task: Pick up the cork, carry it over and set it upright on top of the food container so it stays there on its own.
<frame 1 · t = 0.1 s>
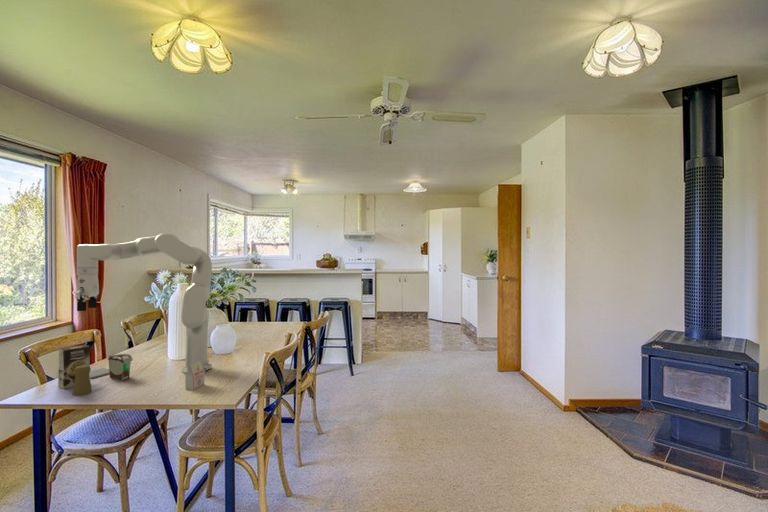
hand: (87, 309, 164), 31 cm above the table, tool pointing down, fingers open, 9 cm apart
slate coaster: (97, 374, 170), on the table
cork: (82, 393, 147), on the table
coffee box: (74, 384, 157), on the table
red printed box: (195, 387, 155), on the table
food container: (123, 378, 165), on the table
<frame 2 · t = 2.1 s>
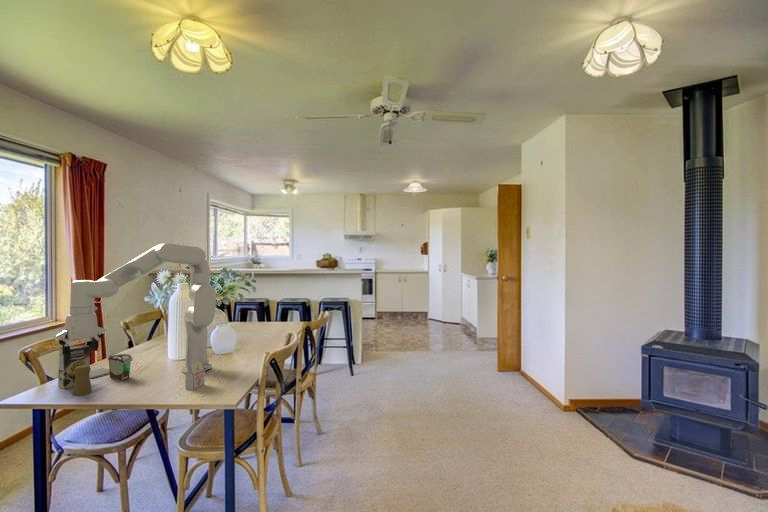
hand: (80, 353, 147), 16 cm above the table, tool pointing down, fingers open, 9 cm apart
nothing on the table moved.
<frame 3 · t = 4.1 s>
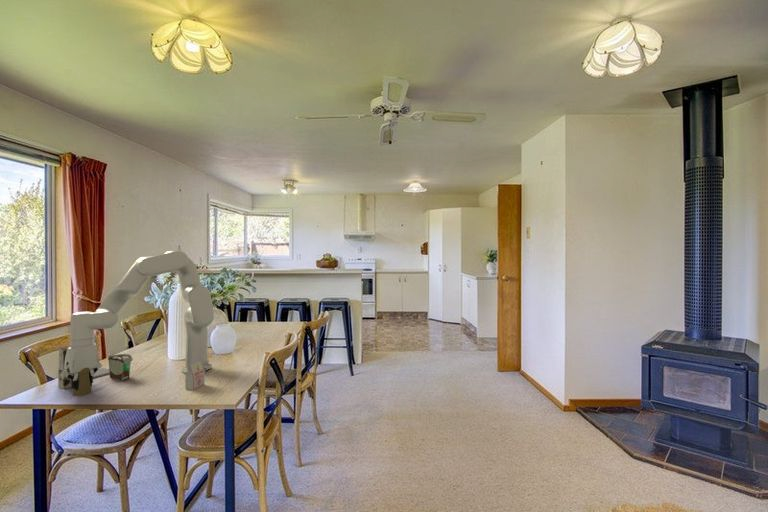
hand: (82, 387, 147), 2 cm above the table, tool pointing down, fingers closed on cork, 4 cm apart
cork: (82, 393, 147), on the table, touching gripper
everything else where it was.
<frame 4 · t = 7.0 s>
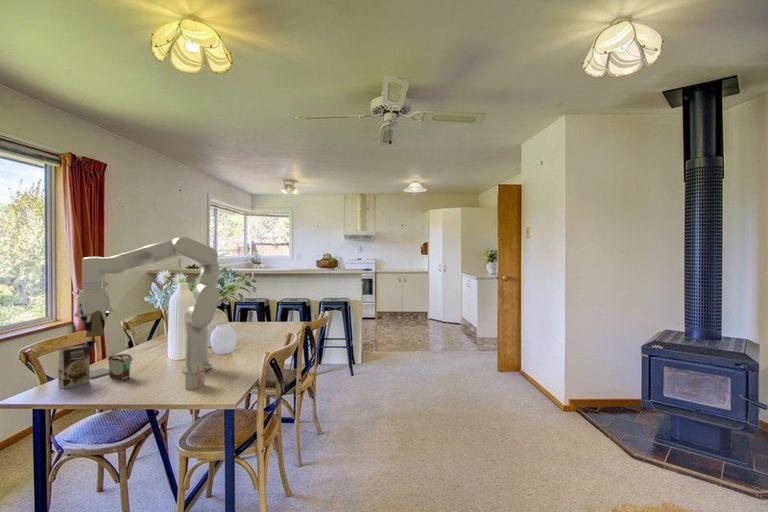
hand: (94, 329, 152), 25 cm above the table, tool pointing down, fingers closed on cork, 4 cm apart
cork: (94, 335, 152), point 22 cm above the table, touching gripper
everything else where it was.
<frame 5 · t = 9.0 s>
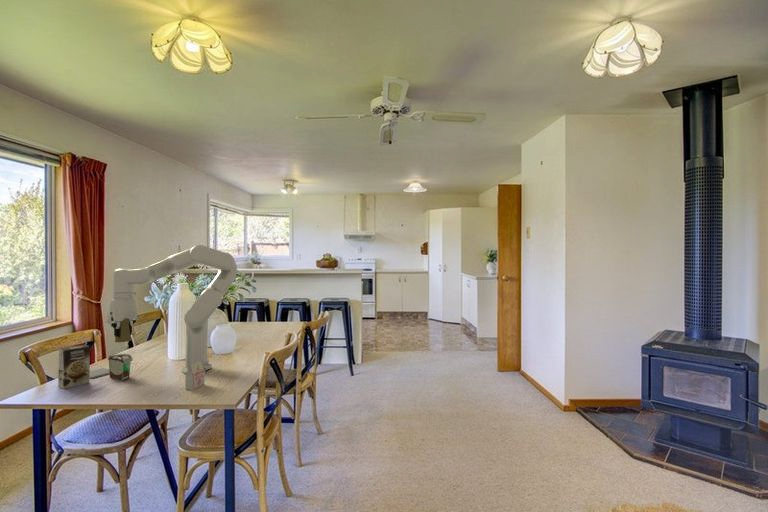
hand: (123, 335, 165), 19 cm above the table, tool pointing down, fingers closed on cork, 4 cm apart
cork: (122, 341, 165), point 17 cm above the table, touching gripper
everything else where it was.
when the fingers open (14 cm above the table, at t = 10.3 s): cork drops 1 cm, resting on food container.
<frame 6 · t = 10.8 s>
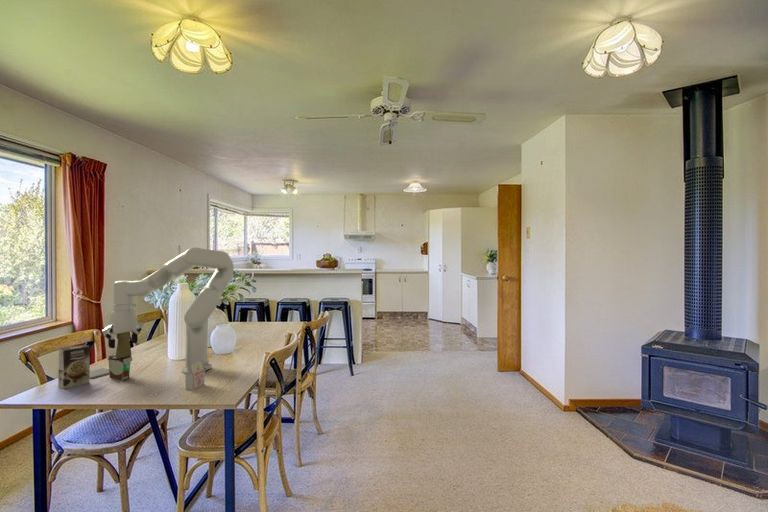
hand: (123, 345, 165), 15 cm above the table, tool pointing down, fingers open, 9 cm apart
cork: (123, 356, 165), point 10 cm above the table, touching food container
food container: (123, 378, 165), on the table, touching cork
everything else where it was.
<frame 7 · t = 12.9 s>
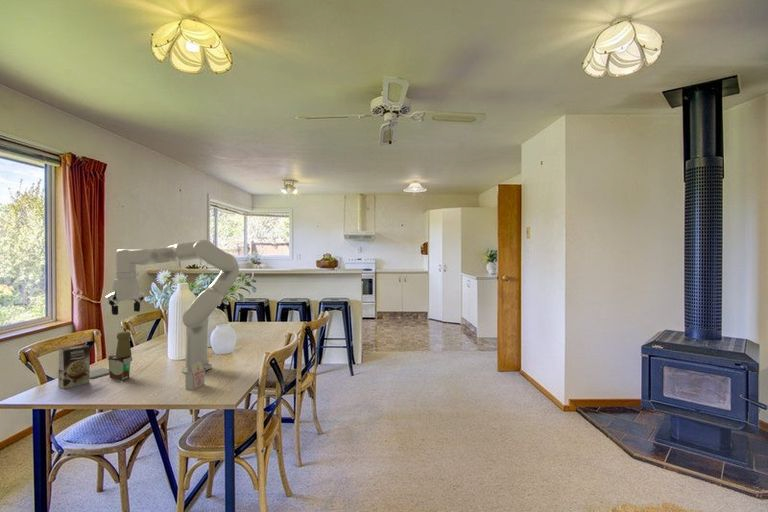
hand: (126, 312, 168), 29 cm above the table, tool pointing down, fingers open, 9 cm apart
nothing on the table moved.
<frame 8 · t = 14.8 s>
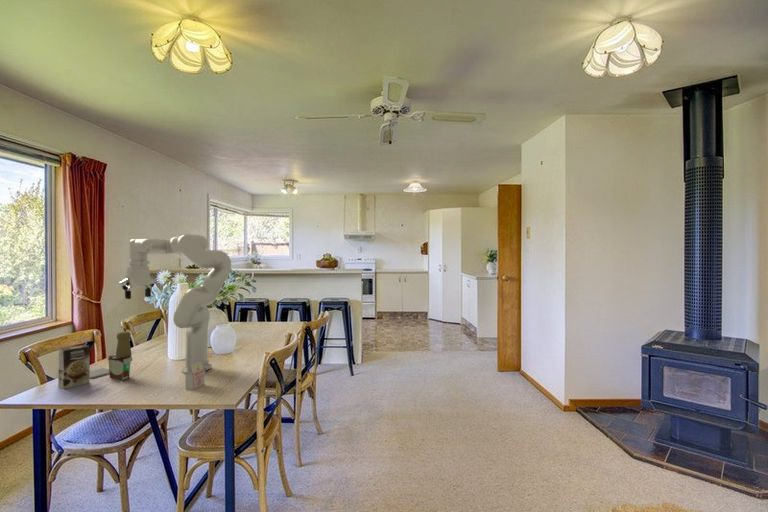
hand: (138, 297, 183), 34 cm above the table, tool pointing down, fingers open, 9 cm apart
nothing on the table moved.
at the end: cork inside the target area on the food container (0.1 cm from its centre), point 10.0 cm above the food container's base; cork tilted 0°; the gripper is holding nothing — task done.
